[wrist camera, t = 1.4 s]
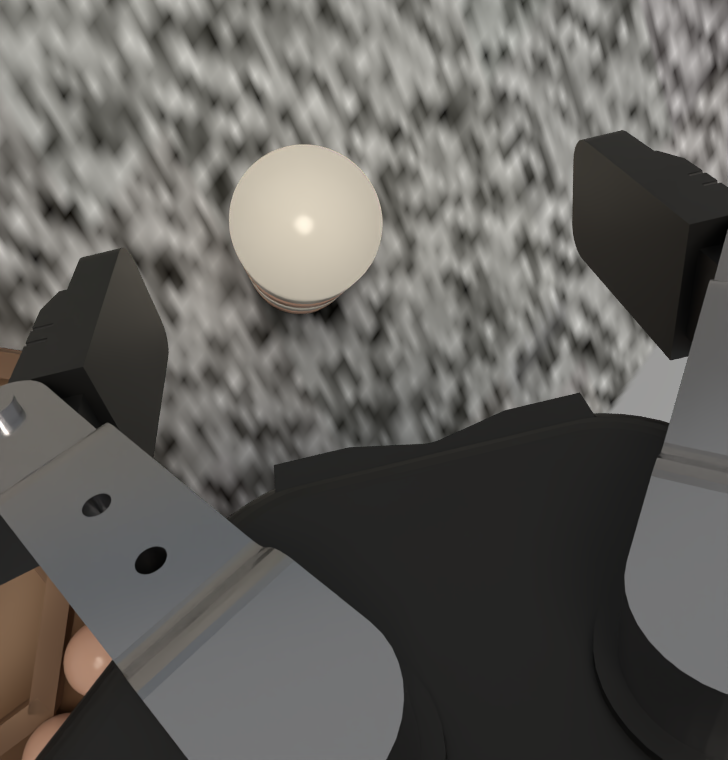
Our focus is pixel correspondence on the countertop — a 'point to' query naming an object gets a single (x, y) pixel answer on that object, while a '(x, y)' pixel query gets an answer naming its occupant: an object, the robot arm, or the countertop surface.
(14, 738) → the bead tray
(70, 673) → the seated beads
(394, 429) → the countertop surface
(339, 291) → the bead stack
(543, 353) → the countertop surface
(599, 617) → the robot arm
